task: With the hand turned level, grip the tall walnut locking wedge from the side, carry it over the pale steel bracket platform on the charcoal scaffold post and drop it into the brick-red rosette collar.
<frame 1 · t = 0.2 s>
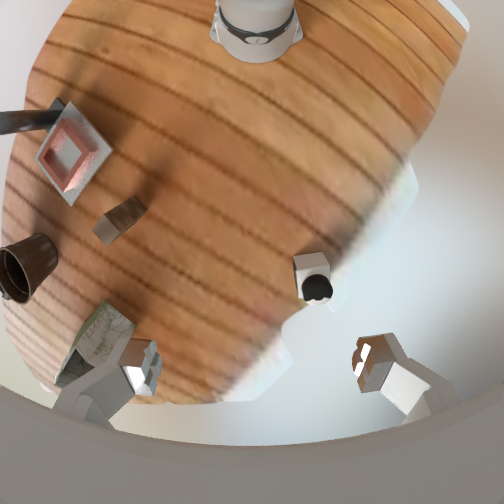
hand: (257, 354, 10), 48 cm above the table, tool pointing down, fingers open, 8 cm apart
medicine bottle: (308, 266, 63), on the table
walnut wedge: (134, 209, 57), on the table
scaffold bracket: (83, 150, 51), on the table
grocery bag: (100, 336, 74), on the table
plant pot: (44, 251, 62), on the table
end cap: (14, 279, 67), on the table
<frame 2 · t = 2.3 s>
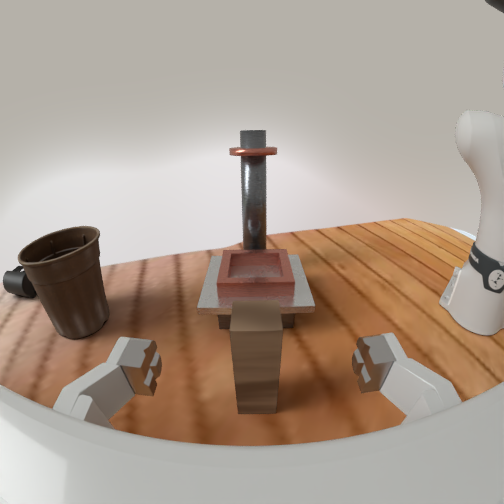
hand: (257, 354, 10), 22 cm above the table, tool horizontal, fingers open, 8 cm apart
walnut wedge: (256, 399, 30), on the table
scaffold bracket: (255, 307, 48), on the table
plant pot: (83, 320, 43), on the table
end cap: (26, 294, 49), on the table
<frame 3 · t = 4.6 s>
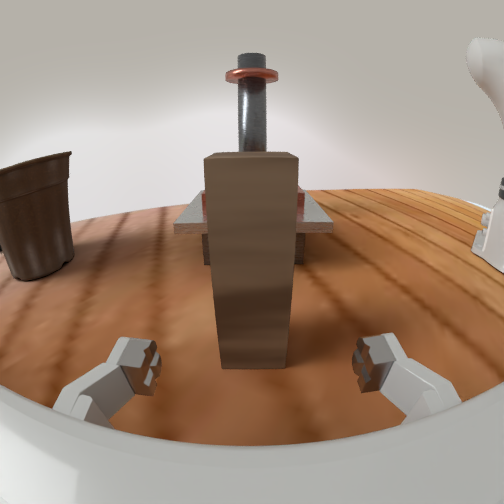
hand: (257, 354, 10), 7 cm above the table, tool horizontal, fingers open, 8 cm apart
walnut wedge: (253, 347, 20), on the table
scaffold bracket: (253, 244, 38), on the table
plant pot: (44, 264, 33), on the table
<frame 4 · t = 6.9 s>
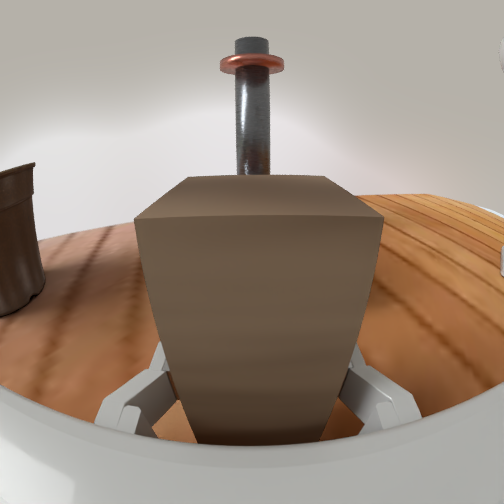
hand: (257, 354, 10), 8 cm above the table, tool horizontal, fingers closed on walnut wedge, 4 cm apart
walnut wedge: (257, 448, 12), on the table, touching gripper
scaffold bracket: (255, 276, 31), on the table
plant pot: (14, 294, 26), on the table
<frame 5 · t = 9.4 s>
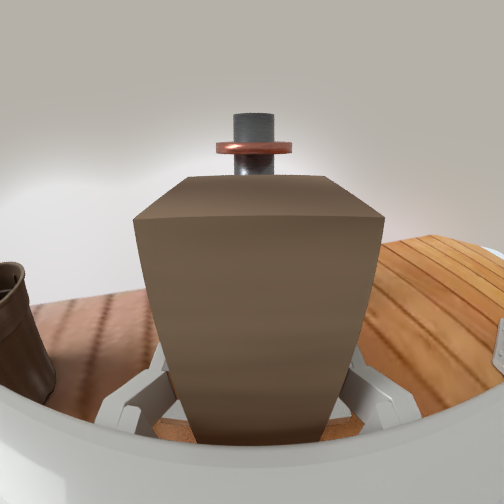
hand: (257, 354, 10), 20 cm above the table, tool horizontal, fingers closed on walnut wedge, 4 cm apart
walnut wedge: (257, 448, 12), point 12 cm above the table, touching gripper
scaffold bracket: (254, 389, 30), on the table
plant pot: (27, 384, 25), on the table
when the fingers open (15 cm above the table, at t = 11.9 s): walnut wedge drops 1 cm, resting on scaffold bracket.
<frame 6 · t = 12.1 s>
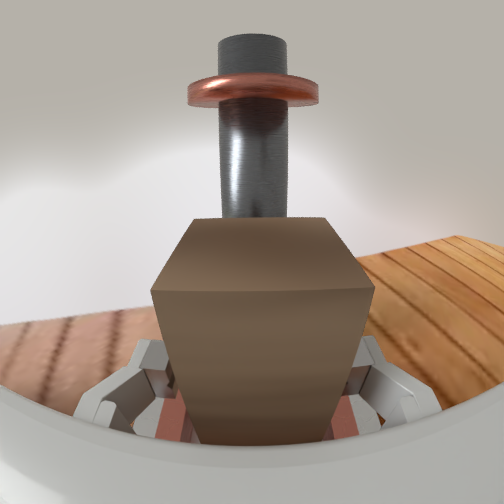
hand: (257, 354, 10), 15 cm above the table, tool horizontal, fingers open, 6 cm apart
walnut wedge: (259, 456, 13), point 6 cm above the table, touching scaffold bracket
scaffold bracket: (257, 479, 16), on the table
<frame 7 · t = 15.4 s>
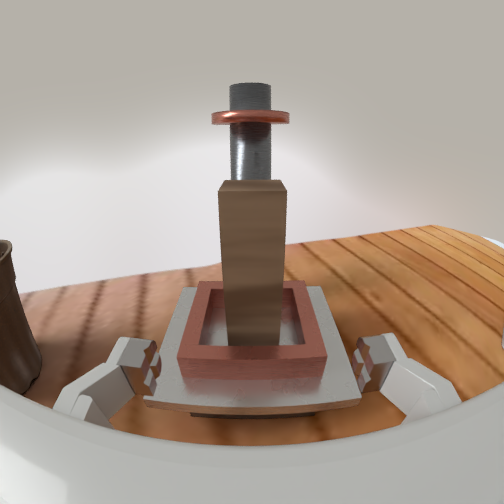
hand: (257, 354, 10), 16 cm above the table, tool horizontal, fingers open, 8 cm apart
walnut wedge: (253, 334, 25), point 6 cm above the table, touching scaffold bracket
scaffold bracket: (252, 374, 28), on the table
plant pot: (13, 370, 23), on the table
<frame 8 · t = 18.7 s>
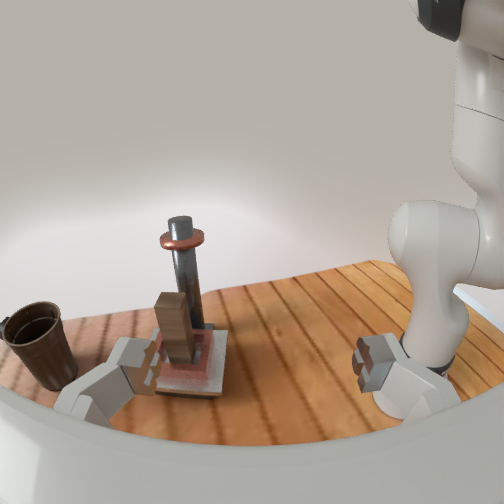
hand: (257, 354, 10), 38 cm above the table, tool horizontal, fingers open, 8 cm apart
walnut wedge: (183, 356, 50), point 6 cm above the table, touching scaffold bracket
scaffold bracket: (187, 375, 53), on the table
plant pot: (58, 373, 48), on the table
end cap: (15, 341, 54), on the table
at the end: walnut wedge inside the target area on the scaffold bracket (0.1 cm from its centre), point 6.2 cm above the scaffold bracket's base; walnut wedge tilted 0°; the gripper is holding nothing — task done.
